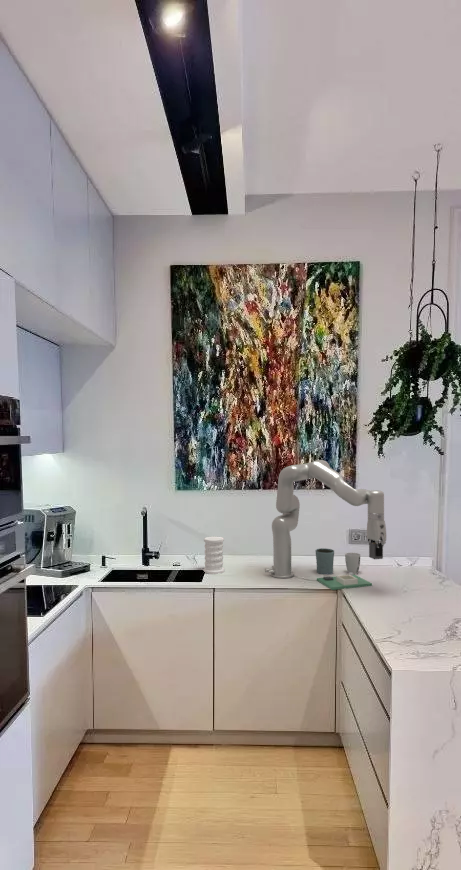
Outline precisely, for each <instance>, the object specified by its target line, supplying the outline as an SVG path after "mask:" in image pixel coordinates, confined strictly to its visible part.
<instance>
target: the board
mask: <svg viewBox="0 0 461 870" xmlns="http://www.w3.org/2000/svg"><path fill="white" fill-rule="evenodd" d="M316 582H318V583H320V584H322V585H323V586H325V587H326V588H328V589H330V590H331V591H335V590H345V589H344V588H346V589H354V588H356V589H357V588H362V587H363V588H364V587H365V588H366V587H371V586H372V587H373V583H372V582H370V581H368V580H366V579H364V578H362V577H360V576H359V575H357V574H353V572H349V573H348V574H343V575H335V576H323V577H316Z"/></svg>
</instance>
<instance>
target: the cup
mask: <svg viewBox="0 0 461 870" xmlns="http://www.w3.org/2000/svg"><path fill="white" fill-rule="evenodd" d="M344 557H345V558H344V559H345V566H346V571H347V573H348V574H349V572H353V575H357V574H359V570H360V565H361V554H360V553H358V552H345V553H344Z"/></svg>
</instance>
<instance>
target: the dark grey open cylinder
mask: <svg viewBox="0 0 461 870" xmlns="http://www.w3.org/2000/svg"><path fill="white" fill-rule="evenodd" d="M334 557H335V550H334V549H331V548H326V547H325V548H324V547H322V548H320V547H319V548H316V549H315V559H316V560H315V561H316V562H315V563H316V573H317V574H319V575H322V576H323V575H328V576H329V575H332V574H333V572H334V561H335V560H334Z"/></svg>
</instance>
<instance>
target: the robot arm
mask: <svg viewBox="0 0 461 870" xmlns="http://www.w3.org/2000/svg"><path fill="white" fill-rule="evenodd" d="M308 479H309V480H311V479H316V480H318V481H319V482H321V483H322V484H323V485H325V486H326V487H328V488H330V489H331V490H332V491H333V492H334V494H336V495H337V496H338V497H339V498H341V499H342V500H343V501H345V502H346V503H348V504H349V505H351V506H354V507H359V506H363V505H367V522H366V539H367V541H368V543H369V542H376V545H377V548H376V556H382V548H383V549H384V547H385V544H386V543H387V542H386V541H387V526H386V520H385V493H384V492H383V491H381V490H374V489H373V490H372V489H371V490H369V489H364V488H359V489H355V488H354V487H352V486H350V485H349V484H348V483H347V482H345V481H344V479H343V477H342V475H341V473H340V472H337V471H336V470H334V469H333V468H331V467H330V464H329V463H328V461H326V460H323V459H318V460H313V461H311V462H308V463H302V464H301V463H300V464H292V465H289V466H286V467H284V468H282V469H281V471H280V473H279V476H278V482H277V491H276V501H275V509H276V510H277V512H279V513H281V515H278V516H276V517H275V518H274V519H273V520H272V522H271V531H272V537H273V538H272V541H273V542H272V543H273V544H272V545H273V549H272V550H273V554H272V555H273V556H272V557H273V559H272V560H273V565H271V567H268V568H267V567H266V568H264V573H269V574H270V575H271V577H273V578H275V579H276V578H277V579H289V578H290V579H291V578H294V577H295V572H294V571H292V537H291V533H290V532H291V531H294V530H295V529H296V528H297V526H298V523H299V516H300V505H301V504H300V500H299V498H298V496H297V495H295V494H294V490H295V489H294V488H295V487H294V482H298V481H305V480H308ZM378 542H379V543H380V544H379V543H378Z"/></svg>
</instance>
